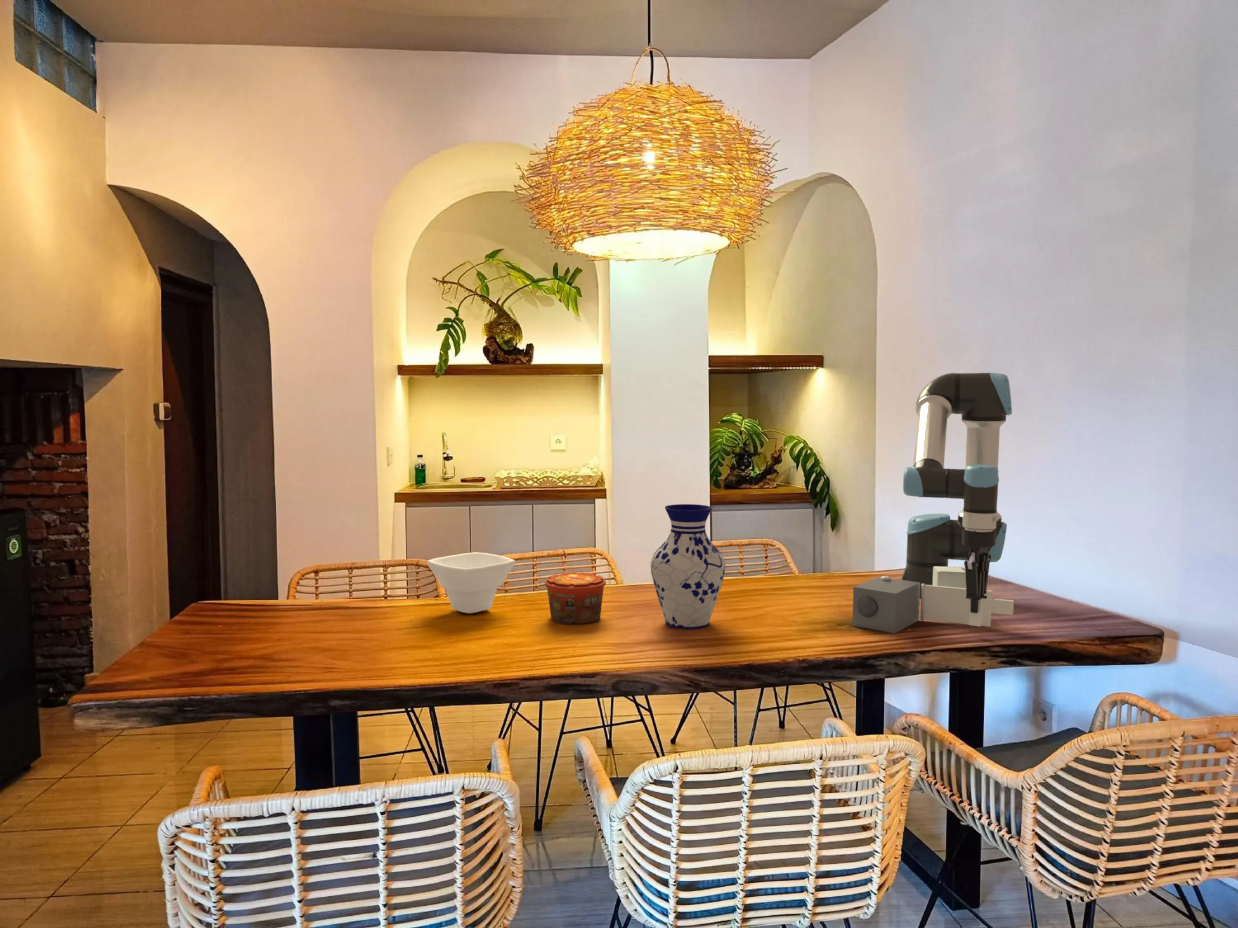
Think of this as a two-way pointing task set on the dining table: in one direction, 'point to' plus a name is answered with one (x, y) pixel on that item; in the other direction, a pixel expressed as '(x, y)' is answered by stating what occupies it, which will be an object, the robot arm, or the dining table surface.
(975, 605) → the robot arm
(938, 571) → the supplement box
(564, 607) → the food container
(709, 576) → the vase
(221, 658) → the dining table surface
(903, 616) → the camera box
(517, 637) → the dining table surface
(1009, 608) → the side door
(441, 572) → the bowl
